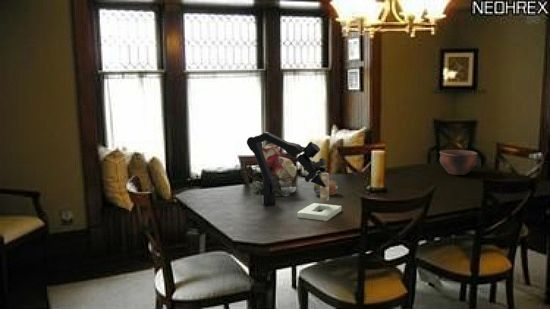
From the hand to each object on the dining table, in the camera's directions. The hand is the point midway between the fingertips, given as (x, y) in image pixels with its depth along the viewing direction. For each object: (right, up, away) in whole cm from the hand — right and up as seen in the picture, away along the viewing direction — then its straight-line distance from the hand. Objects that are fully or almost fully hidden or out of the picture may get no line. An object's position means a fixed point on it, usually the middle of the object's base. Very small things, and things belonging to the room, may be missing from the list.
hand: (326, 185), depth 275 cm
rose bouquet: (-26, -7, +49) cm, 56 cm away
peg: (-1, -7, +2) cm, 8 cm away
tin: (+3, -8, +38) cm, 39 cm away
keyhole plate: (-4, -14, -3) cm, 15 cm away
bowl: (+98, +3, +87) cm, 131 cm away
